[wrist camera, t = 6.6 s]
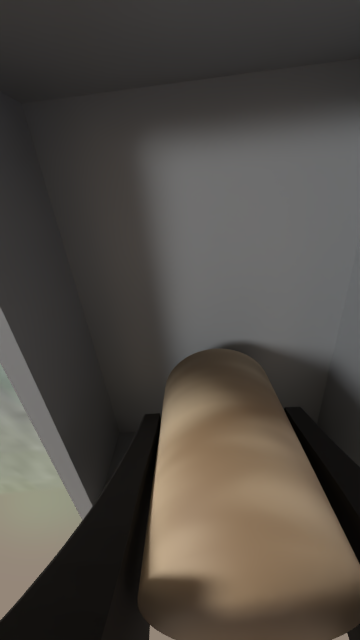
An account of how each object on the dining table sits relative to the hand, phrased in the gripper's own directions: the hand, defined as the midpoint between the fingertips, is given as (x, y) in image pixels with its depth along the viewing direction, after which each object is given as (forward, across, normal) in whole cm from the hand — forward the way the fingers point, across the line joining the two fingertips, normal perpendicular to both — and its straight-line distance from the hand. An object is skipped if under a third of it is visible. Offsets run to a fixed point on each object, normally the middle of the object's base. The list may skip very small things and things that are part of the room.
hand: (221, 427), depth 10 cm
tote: (+4, 0, -4) cm, 6 cm away
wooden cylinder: (+2, 0, 0) cm, 2 cm away
